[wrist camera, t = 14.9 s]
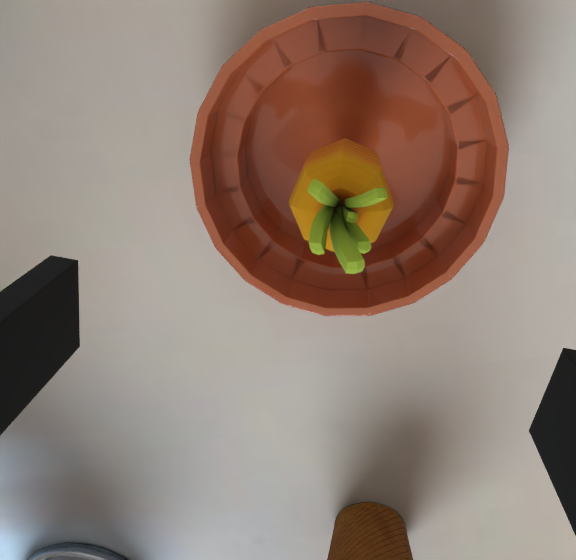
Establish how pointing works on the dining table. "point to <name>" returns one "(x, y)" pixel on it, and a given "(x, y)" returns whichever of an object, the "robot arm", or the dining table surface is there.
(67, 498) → the dining table surface
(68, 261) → the robot arm
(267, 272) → the bowl
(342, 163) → the carrot
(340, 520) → the disposable coffee cup
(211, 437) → the dining table surface
